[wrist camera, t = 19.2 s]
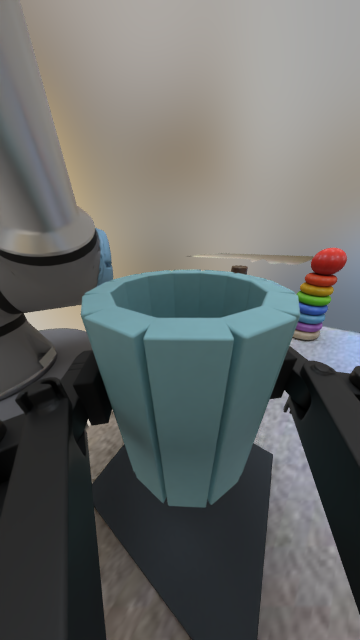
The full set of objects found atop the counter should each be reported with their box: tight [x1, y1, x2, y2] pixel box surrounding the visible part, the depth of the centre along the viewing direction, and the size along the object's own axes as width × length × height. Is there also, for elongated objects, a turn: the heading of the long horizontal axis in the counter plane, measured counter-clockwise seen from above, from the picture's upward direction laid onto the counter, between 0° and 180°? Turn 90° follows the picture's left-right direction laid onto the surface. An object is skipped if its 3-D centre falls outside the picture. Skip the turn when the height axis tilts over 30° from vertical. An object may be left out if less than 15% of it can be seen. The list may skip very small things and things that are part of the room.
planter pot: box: [81, 270, 300, 508], centre depth 9 cm, size 8×8×10 cm
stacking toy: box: [293, 248, 347, 340], centre depth 34 cm, size 8×8×19 cm
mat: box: [92, 443, 273, 640], centre depth 15 cm, size 14×12×1 cm
